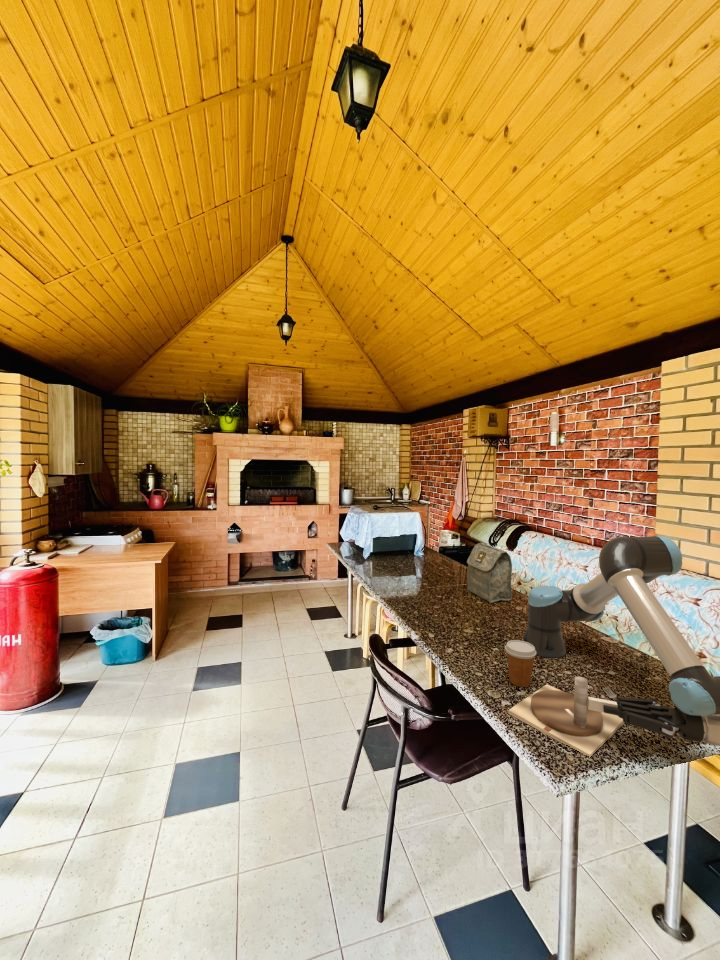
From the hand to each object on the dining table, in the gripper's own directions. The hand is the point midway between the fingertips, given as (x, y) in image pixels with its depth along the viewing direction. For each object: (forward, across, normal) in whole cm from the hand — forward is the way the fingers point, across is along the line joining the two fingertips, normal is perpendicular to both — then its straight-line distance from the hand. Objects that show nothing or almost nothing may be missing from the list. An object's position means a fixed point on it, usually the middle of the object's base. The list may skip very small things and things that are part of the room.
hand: (588, 703), depth 105 cm
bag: (+32, +105, -9) cm, 110 cm away
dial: (+5, +6, -8) cm, 11 cm away
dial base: (+5, +6, -9) cm, 12 cm away
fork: (-13, +19, -10) cm, 25 cm away
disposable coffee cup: (+16, +21, -9) cm, 28 cm away
